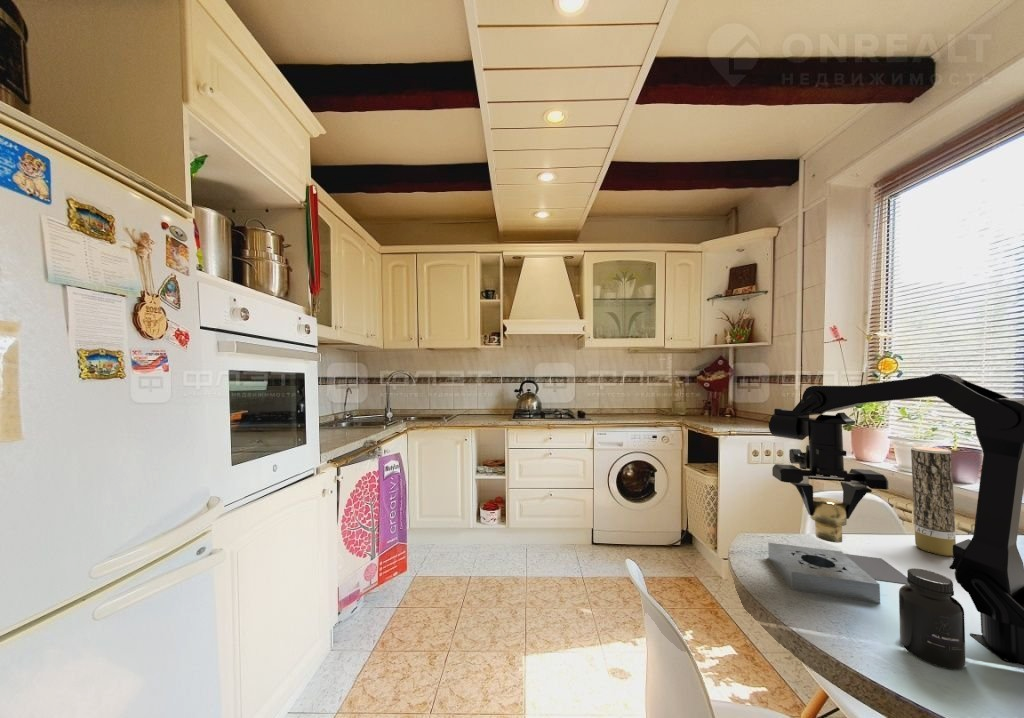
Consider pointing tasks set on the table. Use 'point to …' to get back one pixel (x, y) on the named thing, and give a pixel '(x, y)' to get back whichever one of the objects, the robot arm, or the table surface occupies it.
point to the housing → (823, 572)
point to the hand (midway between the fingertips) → (828, 516)
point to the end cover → (829, 518)
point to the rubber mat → (878, 569)
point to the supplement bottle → (932, 620)
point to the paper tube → (933, 500)
